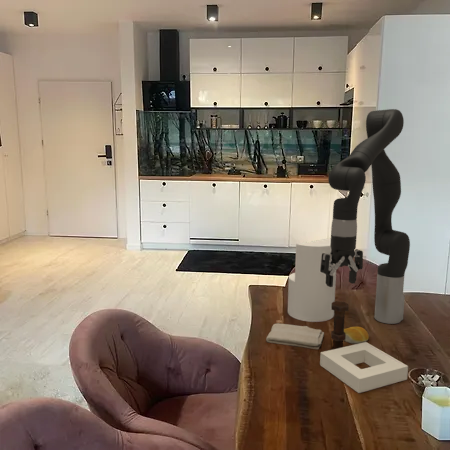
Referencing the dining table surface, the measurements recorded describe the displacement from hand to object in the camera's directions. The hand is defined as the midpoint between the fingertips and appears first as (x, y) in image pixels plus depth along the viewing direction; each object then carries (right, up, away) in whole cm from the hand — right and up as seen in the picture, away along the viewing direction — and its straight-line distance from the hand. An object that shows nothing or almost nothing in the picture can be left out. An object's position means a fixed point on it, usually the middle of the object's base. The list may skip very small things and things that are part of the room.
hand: (340, 284), depth 148 cm
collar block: (+4, -24, -11) cm, 26 cm away
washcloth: (-12, -20, +11) cm, 26 cm away
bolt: (0, -21, +4) cm, 21 cm away
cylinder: (-3, -15, +34) cm, 37 cm away
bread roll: (+7, -20, +12) cm, 24 cm away
